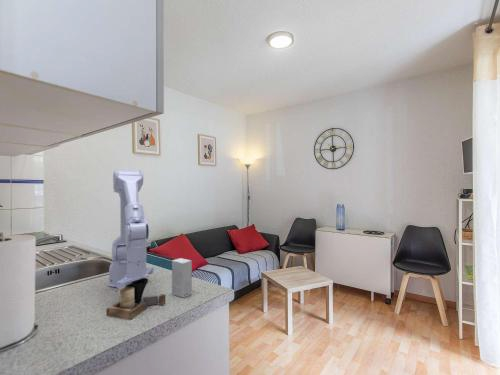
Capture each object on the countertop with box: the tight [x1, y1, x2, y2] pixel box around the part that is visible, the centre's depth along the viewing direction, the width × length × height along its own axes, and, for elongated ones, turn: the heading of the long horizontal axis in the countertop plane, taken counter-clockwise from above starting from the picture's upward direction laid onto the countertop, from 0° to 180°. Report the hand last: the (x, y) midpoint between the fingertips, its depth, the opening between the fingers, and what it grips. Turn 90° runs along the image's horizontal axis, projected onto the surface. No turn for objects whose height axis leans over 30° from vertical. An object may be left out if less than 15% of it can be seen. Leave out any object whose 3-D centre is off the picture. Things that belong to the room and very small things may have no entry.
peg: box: [119, 286, 136, 309], centre depth 80 cm, size 4×4×7 cm
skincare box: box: [171, 257, 193, 298], centre depth 93 cm, size 6×4×12 cm
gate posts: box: [158, 293, 166, 306], centre depth 87 cm, size 16×1×3 cm, turn 75°
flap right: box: [142, 294, 160, 307], centre depth 84 cm, size 5×1×3 cm, turn 114°
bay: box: [106, 300, 147, 321], centre depth 80 cm, size 8×7×2 cm
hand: (136, 302), depth 84 cm, fingers closed
